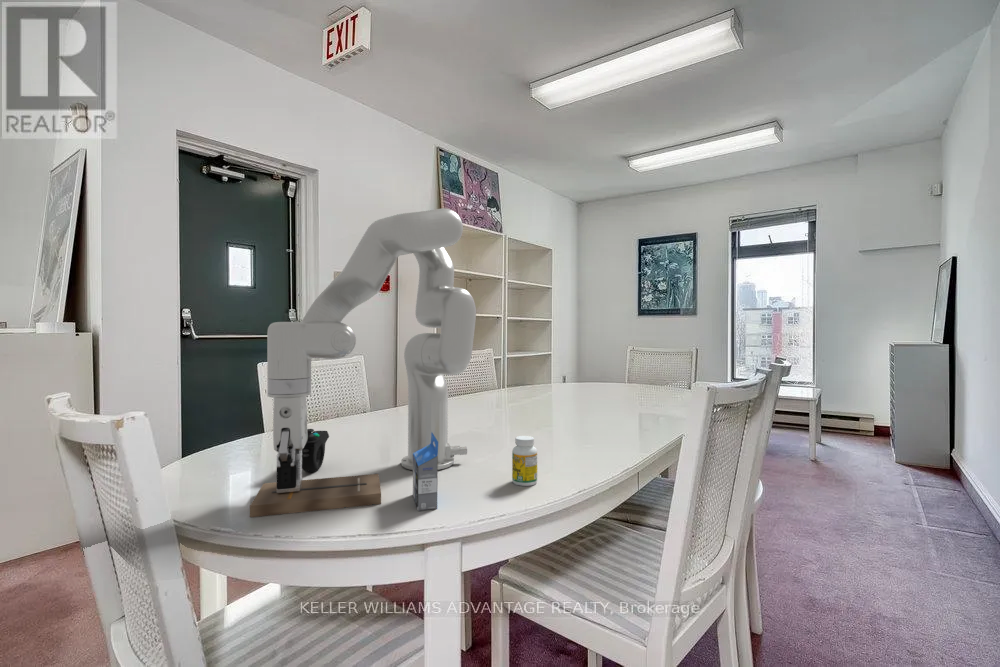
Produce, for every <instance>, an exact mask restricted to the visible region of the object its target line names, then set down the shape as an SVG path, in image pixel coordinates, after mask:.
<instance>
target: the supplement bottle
mask: <svg viewBox="0 0 1000 667" xmlns="http://www.w3.org/2000/svg"><path fill="white" fill-rule="evenodd" d="M514 441H515V446H514V447H513V448H512V451H511V452H512V453H511V454H512V455H511V456H512V457H511V458H512V459H511V460H512V461H511V462H512V463H511V464H512V467H511V468H512V469H511V471H512V472H511V474H512V475H511V478H512V479H511V481H512V484H514V485H516V486H519V487H520V486H521V487H531V486H535V485H536V484H537V482H538V448H536V447H535V446H534V445H535V438H534V437H533V436H531V435H518V436H515V440H514Z"/></svg>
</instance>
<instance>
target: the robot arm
mask: <svg viewBox="0 0 1000 667" xmlns="http://www.w3.org/2000/svg"><path fill="white" fill-rule="evenodd" d="M463 232H464V225H463V222H462V219H461V217H460V215H459V214H458V213H457V212H455V211H454V210H452V209H450V208H445V207H443V208H437V209H435V208H434V209H428V210H422V211H414V212H405V213H399V214H394V215H390V216H386V217H383V218H379V219H377V220H375V221H373V222H372V223H371V224H370V225H369V226H368V227H367V228H366V231H365V232H364V234H363V236H362V237H361V239H360V240H359V243H358V244H357V245H356V248H355V249H354V251H353V253H352V255H351V256H350V258H349V259H348V261H347V263H346V264H345V266H344V268H343V269H342V271H341V272H340V273H339V274H338V275H337V276H336V277H335V278H334V279H333V280H332V281H331V282H330V283H329V284H328V286H327V287H326V288H325V289H324V290H323V291H321V292H320V294H319V295H318V296H317V297H316V299H315V300H314V301H313V302H312V304H311V306H309V309H308V310H307V311H306V314H304V316H303V319H302V320H301V321H277V322H276V321H275V322H271V323H270V324H269V326H268V327H267V338H266V339H267V341H266V342H267V343H266V344H267V348H266V349H267V350H266V351H267V353H266V356H267V358H266V359H267V362H266V363H267V366H266V367H267V368H266V369H267V372H266V373H267V385H266V386H267V388H266V389H267V397H268V398H273V412H272V413H273V418H272V421H273V422H272V424H273V426H272V427H273V428H272V430H273V431H272V432H273V433H272V437H273V450H274V451H275V452H277V454H278V462H277V461H276V482H277V489H291V488H295V487H296V465H295V451H296V450H302V449H303V448H304V446H305V444H306V442H307V439H308V432H307V429H308V406H307V396H311V395H312V359H325V360H339V359H343V358H345V357H347V356H349V354H351V353H352V352H353V351H354V348H356V344H357V336H356V334H355V332H354V330H353V329H352V327H350V326H349V325H347V324H346V323H343V320H344V319H345V318H346V317H347V315H348V314H349V313H350V312H352V311H353V310H354V309H356V308H357V307H358V306H360V305H362V304H363V303H365V302H367V301H369V300H371V299H372V298H373V297H375V295H377V294H379V292H380V291H381V288H382V287H383V285H384V284H385V282H386V280H387V277H388V276H389V273H390V272H391V270H392V268H393V267H394V265H395V263H396V262H397V259H398V258H399V257H400V256H404V255H410V254H413V256H414V257H415V259H416V262H417V264H418V268H419V275H418V276H419V277H418V278H419V279H418V286H417V295H416V301H415V302H416V303H415V318H416V320H417V322H418V323H419V324H420V325H421V326H423V327H425V328H431V329H440V333H439V332H433V333H432V332H427V333H426V332H424V333H419V334H416V335H414V336H413V337H412V336H411V338H410V339H409V340H408V342H407V343H406V345H405V347H404V353H403V355H404V356H403V358H404V364H405V370H406V376H407V385H408V386H407V394H408V396H407V399H408V400H407V403H408V404H407V410H408V411H407V412H408V413H407V420H408V421H407V432H408V433H407V455H406V456H404V457H403V458H402V459H401V462H400V464H401V467H402V468H404V469H407V470H411V471H413V453H414V452H416V451H418V450H420V449H422V448H424V447H426V446H428V445H429V444H430V443H431V432H432V433H433V434H434V436H435V437H436V439H437V441H438V471H440V470H443V469H444V470H445V469H447V468H450V467H451V466H452V465H454V463H455V458H454V457H455V456H456V455H457V456H463V455H465V456H466V455H467V454H468V447H467V446H461V445H454V446H453V445H452V446H451V445H450V443H449V441H448V439H449V438H448V437H449V436H448V435H449V433H448V432H449V431H448V430H449V428H448V427H449V425H448V424H449V422H448V421H449V418H448V417H449V413H448V412H449V389H448V388H449V387H448V384H447V380H446V378H445V376H446V375H447V376H457V375H460V374H462V373H463V372H465V371H466V370H467V368H468V367H469V365H470V362H471V360H472V356H473V348H474V347H473V346H474V338H475V328H476V319H477V307H476V303H475V300H474V297H473V296H472V294H471V293H470V292H469V291H468V290H467V289H465V288H462V287H457V286H454V283H455V282H454V281H455V267H454V263H453V261H452V258H451V256H450V255H449V254H448V252H447V250H446V249H445V248H448V247H451V246H454V245H455V244H457V243H458V242H459V241H460V239H461V237H462V235H463ZM433 444H434V446H435V442H434V441H433ZM288 453H291V456H290V454H288Z"/></svg>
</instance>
